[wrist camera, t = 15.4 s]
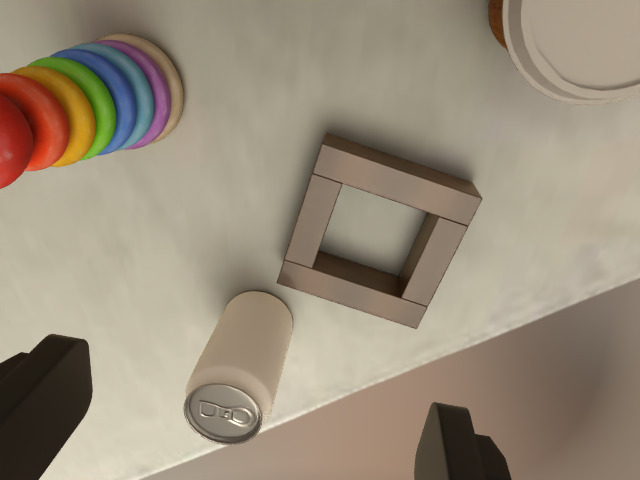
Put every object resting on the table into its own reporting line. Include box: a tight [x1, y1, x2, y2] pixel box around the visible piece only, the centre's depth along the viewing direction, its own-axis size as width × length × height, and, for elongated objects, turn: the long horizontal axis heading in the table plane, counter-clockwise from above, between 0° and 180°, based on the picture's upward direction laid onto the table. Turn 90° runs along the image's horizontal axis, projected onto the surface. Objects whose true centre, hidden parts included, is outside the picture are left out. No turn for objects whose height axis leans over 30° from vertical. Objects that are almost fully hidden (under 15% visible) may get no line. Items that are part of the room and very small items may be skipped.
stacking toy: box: [0, 34, 184, 189], centre depth 28 cm, size 8×8×19 cm
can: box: [184, 291, 293, 445], centre depth 39 cm, size 6×6×12 cm
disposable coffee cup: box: [489, 0, 640, 105], centre depth 26 cm, size 10×10×12 cm
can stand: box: [277, 133, 482, 329], centre depth 38 cm, size 12×12×4 cm
